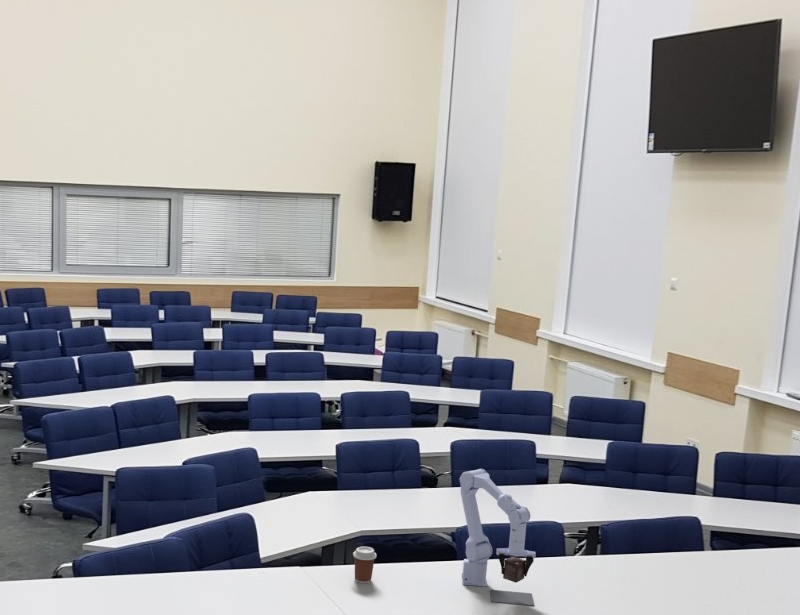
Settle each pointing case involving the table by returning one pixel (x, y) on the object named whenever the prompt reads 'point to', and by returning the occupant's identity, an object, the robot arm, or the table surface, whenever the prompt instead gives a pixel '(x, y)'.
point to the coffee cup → (364, 564)
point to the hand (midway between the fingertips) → (513, 574)
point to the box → (514, 569)
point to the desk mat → (511, 597)
